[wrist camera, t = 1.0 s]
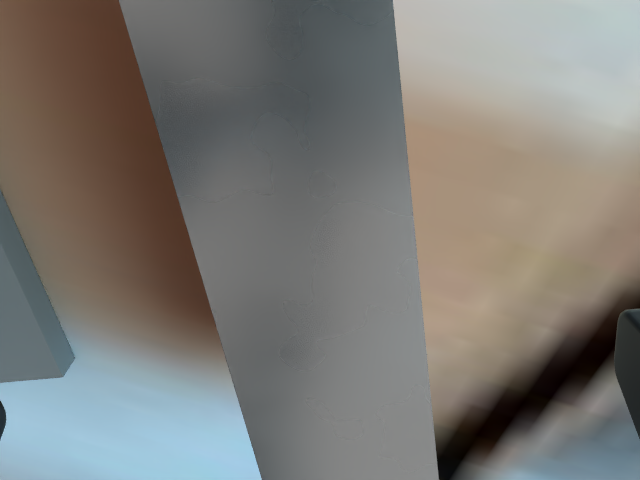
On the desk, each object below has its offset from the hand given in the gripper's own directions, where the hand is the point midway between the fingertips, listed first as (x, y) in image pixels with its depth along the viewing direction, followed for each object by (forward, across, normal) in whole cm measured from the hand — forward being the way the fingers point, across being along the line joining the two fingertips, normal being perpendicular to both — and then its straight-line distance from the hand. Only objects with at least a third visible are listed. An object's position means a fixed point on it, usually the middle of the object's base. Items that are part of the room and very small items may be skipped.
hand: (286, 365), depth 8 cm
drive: (+10, 0, 0) cm, 10 cm away
